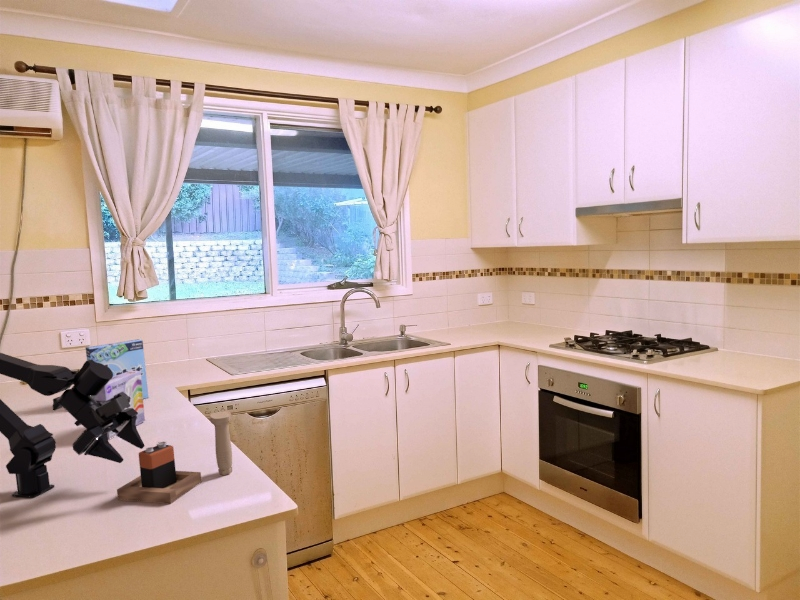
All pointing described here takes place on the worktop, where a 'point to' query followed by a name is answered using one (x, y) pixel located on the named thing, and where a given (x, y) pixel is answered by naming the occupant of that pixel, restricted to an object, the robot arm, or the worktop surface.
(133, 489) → the brown wooden flat tray
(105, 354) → the light blue flat box
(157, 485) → the battery
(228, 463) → the handle
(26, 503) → the worktop surface
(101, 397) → the cake pan box
